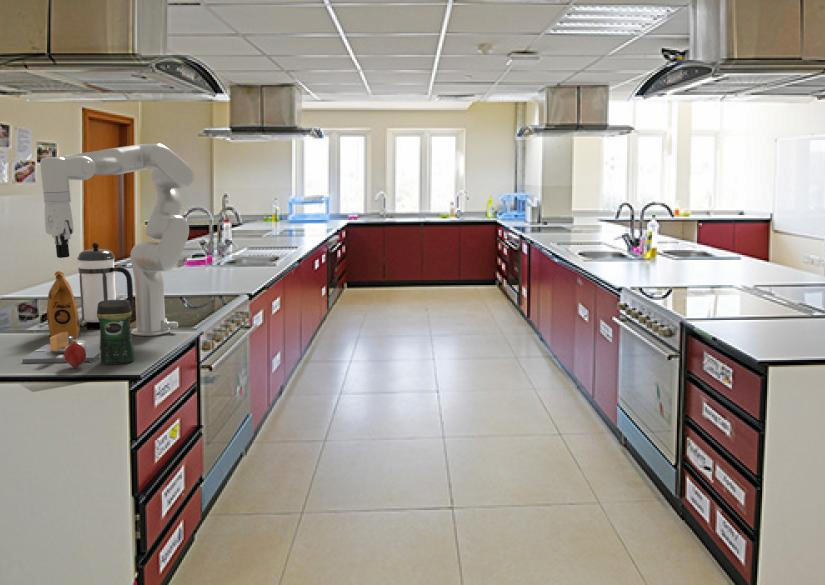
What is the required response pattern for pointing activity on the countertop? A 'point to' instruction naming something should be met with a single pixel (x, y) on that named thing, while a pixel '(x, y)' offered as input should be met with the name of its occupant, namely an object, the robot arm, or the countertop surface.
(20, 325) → the countertop surface
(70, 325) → the coffee package
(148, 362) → the countertop surface
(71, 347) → the pomegranate
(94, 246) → the coffee press
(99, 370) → the countertop surface
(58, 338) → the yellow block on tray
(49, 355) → the board
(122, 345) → the coffee jar
